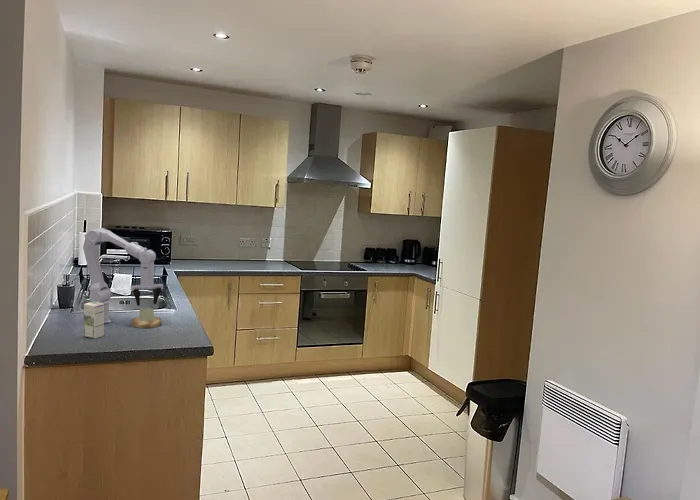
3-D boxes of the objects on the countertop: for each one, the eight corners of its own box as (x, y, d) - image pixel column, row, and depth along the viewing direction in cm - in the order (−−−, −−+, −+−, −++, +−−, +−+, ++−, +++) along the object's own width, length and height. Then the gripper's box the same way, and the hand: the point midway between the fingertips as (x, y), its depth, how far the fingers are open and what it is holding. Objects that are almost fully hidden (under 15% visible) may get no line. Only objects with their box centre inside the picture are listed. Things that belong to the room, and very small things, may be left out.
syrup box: (104, 335, 232) (104, 302, 230) (93, 338, 226) (94, 305, 224) (93, 333, 233) (94, 301, 232) (83, 336, 228) (83, 303, 226)
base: (136, 329, 244) (136, 324, 244) (128, 322, 254) (128, 317, 254) (164, 326, 252) (164, 321, 251) (155, 320, 262) (156, 315, 262)
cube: (142, 321, 249) (142, 310, 248) (139, 318, 253) (139, 308, 252) (153, 320, 252) (153, 309, 251) (150, 317, 256) (150, 307, 255)
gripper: (133, 278, 243) (133, 307, 244) (165, 276, 252) (164, 305, 253) (129, 275, 248) (128, 304, 250) (160, 274, 257) (160, 302, 259)
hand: (146, 304), depth 252 cm, fingers open, 7 cm apart
